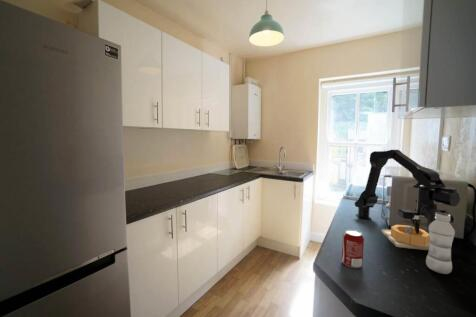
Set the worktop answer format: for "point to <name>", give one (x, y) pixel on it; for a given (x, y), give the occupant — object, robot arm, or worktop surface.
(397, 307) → the worktop surface
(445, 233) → the plastic bottle
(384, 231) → the hook stand
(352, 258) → the soda can
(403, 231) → the orange octagonal ring
